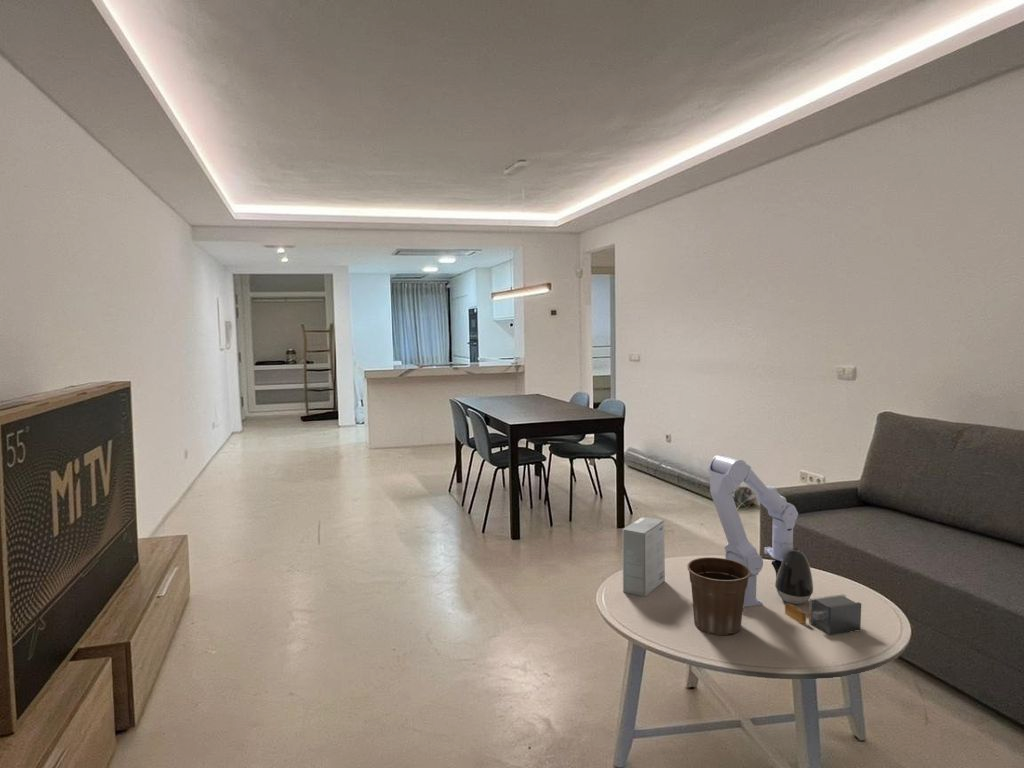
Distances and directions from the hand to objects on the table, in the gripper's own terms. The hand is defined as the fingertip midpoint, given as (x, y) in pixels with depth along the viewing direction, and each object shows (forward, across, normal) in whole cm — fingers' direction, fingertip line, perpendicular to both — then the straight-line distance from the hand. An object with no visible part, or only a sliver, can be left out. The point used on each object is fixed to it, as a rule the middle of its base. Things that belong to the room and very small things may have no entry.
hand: (781, 584), depth 196 cm
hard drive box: (+2, +16, +38) cm, 41 cm away
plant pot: (+2, -14, +31) cm, 34 cm away
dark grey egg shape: (+3, -6, 0) cm, 6 cm away
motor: (+3, -20, +1) cm, 20 cm away
